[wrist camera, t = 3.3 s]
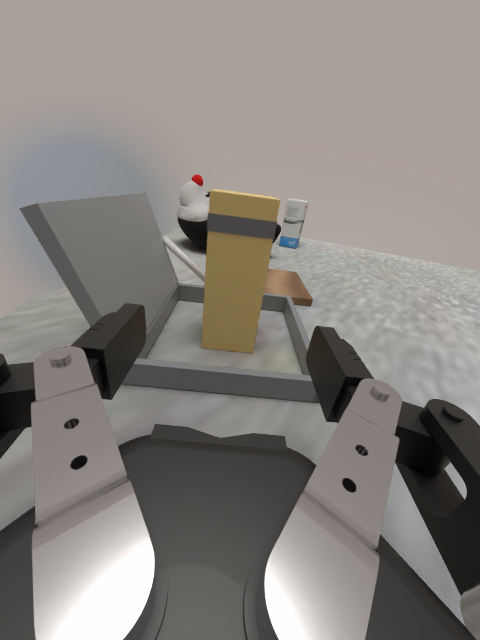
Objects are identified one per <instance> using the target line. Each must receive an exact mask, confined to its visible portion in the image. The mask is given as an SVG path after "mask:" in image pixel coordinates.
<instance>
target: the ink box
mask: <svg viewBox="0 0 480 640" xmlns="http://www.w3.org/2000/svg"><path fill="white" fill-rule="evenodd" d="M307 206H308V201H303V200H297V199H288V202H287V207H286V212H285V217H284V222H283V228H282V233H281V238H280V243H279V245H280V246H285V247H290V248H296V247H297V246H298V244H299V240H300V236H301V232H302V228H303V223H304V219H305V215H306V210H307Z"/></svg>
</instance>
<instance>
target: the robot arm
mask: <svg viewBox="0 0 480 640" xmlns="http://www.w3.org/2000/svg"><path fill="white" fill-rule="evenodd" d="M145 342H146V318H145V308H144V306H143V305H139V304H131V303H125V304H124V305H123V306H122V307H121V308H120V309H119V310H118V311H117V312H111V313H109V314H107V315H105V316H103V317H101V318H100V319H99V320H98V321H97V322H96V323H95V325H92V326H91V327H90V328H89V330H87V331H86V332H85V333H84V334H83V335H82V336H81V337H80V338H79V339H77V340H76V341H75V342H74V343H73V344H72V345H71V346H64V347H58V348H54V349H51V350H48V351H46V352H44V353H42V354H41V355H40V356H38V357H37V358H36V360H35V361H34V362H32V363H21V364H11V365H7V362H6V360H5V357H4V356H3V355H2V354H0V458H1V457H2V456H3V455H4V453H5V452H6V451H7V450H8V449H9V447H10V446H11V445H12V444H13V442H14V441H15V440H16V439H17V438H18V436H19V435H20V434H21V433H22V431H23V430H24V429H25V428H27V427H32V445H33V468H34V492H35V506H34V507H32V508H31V509H30V510H28V511H27V512H26V513H24V514H23V515H21V516H20V517H19V518H17V519H16V520H15V521H13V522H12V523H10V524H9V525H8V526H6V527H5V528H4V529H2V530H1V531H0V640H480V426H479V425H478V424H477V422H476V421H475V420H474V419H473V418H472V417H471V416H470V415H469V414H467V413H466V412H465V411H464V410H462V409H461V408H459V407H457V406H455V405H454V404H451V403H449V402H446V401H443V400H439V399H432V400H430V401H428V403H427V404H426V406H425V407H424V408H422V407H419V406H416V405H413V404H410V403H406V402H403V401H402V398H401V396H400V395H399V393H398V392H397V391H396V390H395V389H394V388H392V387H391V386H389V385H388V384H386V383H384V382H382V381H379V380H376V379H374V378H373V376H372V375H371V374H370V372H369V371H368V369H367V368H366V366H365V365H364V363H363V362H362V361H361V359H360V357H359V356H358V355H357V353H356V351H355V350H354V349H353V347H352V346H351V345H350V344H349V343H347V342H346V341H345V340H344V339H340V337H339V336H338V334H337V332H336V331H335V329H334V328H331V327H323V326H316V327H315V329H314V332H313V335H312V338H311V341H310V344H309V347H308V351H307V354H306V365H307V368H308V371H309V374H310V377H311V379H312V382H313V385H314V388H315V391H316V394H317V396H318V399H319V402H320V405H321V408H322V411H323V413H324V416H325V419H326V422H337V423H338V425H337V427H336V429H335V431H334V433H333V435H332V437H331V439H330V441H329V442H328V444H327V446H326V448H325V450H324V452H323V454H322V456H321V458H320V460H319V462H318V464H317V465H315V464H314V463H313V462H312V461H311V460H309V459H308V458H306V457H305V456H303V455H302V454H300V453H298V452H296V451H294V450H292V449H290V448H287V447H286V442H285V436H277V435H266V434H256V433H252V434H245V435H238V436H231V437H225V438H219V437H215V436H212V435H209V434H206V433H203V432H200V431H197V430H195V429H192V428H189V427H181V426H170V425H159V424H155V426H154V428H153V431H152V434H151V435H147V436H143V437H139V438H136V439H133V440H130V441H128V442H125V443H123V444H121V445H119V446H117V443H116V440H115V437H114V434H113V431H112V428H111V425H110V422H109V419H108V416H107V413H106V410H105V407H104V404H103V401H102V399H109V400H112V398H113V397H114V395H115V394H116V392H117V390H118V389H119V387H120V385H121V384H122V382H123V380H124V379H125V377H126V376H127V374H128V372H129V371H130V369H131V367H132V366H133V364H134V362H135V361H136V359H137V358H138V356H139V354H140V353H141V351H142V349H143V348H144V346H145ZM450 462H451V463H452V464H453V466H454V467H455V469H456V470H457V472H458V473H459V475H460V476H461V477H462V479H463V481H464V482H465V485H466V488H467V496H466V499H465V500H464V498H463V497H462V495H461V494H460V492H459V491H458V489H457V488H456V486H455V485H454V483H453V482H452V480H451V479H450V477H449V476H448V474H447V472H446V471H445V467H446V466H447V465H448V464H449V463H450ZM395 463H396V465H397V467H398V469H399V471H400V473H401V475H402V477H403V479H404V481H405V483H406V485H407V487H408V489H409V491H410V493H411V495H412V497H413V499H414V501H415V504H416V506H417V508H418V510H419V512H420V514H421V516H422V518H423V520H424V522H425V524H426V526H427V528H428V530H429V532H430V534H431V536H432V538H433V540H434V542H435V544H436V546H437V548H438V550H439V552H440V554H441V556H442V558H443V560H444V562H445V564H446V566H447V568H448V570H449V572H450V574H451V576H452V578H453V581H454V583H455V585H456V587H457V589H458V591H459V593H460V595H461V602H460V607H461V613H462V617H463V620H464V623H465V625H466V626H464V625H463V624H462V623H461V621H460V620H459V619H458V618H457V617H456V616H455V615H454V614H453V613H452V612H451V611H450V609H449V608H448V607H447V606H446V605H445V604H444V603H443V602H442V601H441V600H440V599H439V598H438V596H437V595H436V594H435V593H434V592H433V591H432V590H431V589H430V588H429V587H428V586H427V584H426V583H425V582H424V581H423V580H422V579H421V578H420V577H419V576H418V575H417V574H416V572H415V571H414V570H413V569H412V568H411V567H410V566H409V565H408V564H407V563H406V562H405V561H404V559H403V558H402V557H401V556H400V555H399V554H398V553H397V552H396V551H395V550H394V549H393V547H392V546H391V545H390V544H389V543H388V542H387V541H386V540H385V539H384V538H383V537H382V535H381V534H380V532H381V527H382V522H383V517H384V513H385V508H386V503H387V498H388V493H389V488H390V484H391V479H392V474H393V469H394V464H395Z"/></svg>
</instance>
